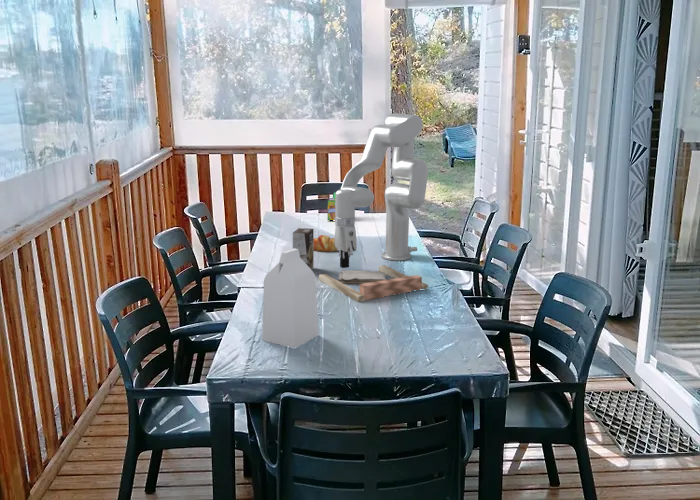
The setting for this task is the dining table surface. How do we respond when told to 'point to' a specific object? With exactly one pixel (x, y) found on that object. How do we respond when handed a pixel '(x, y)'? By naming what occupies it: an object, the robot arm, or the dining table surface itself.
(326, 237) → the croissant
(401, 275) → the wooden frame
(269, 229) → the dining table surface
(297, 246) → the coffee box
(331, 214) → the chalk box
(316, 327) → the milk
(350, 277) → the washcloth
